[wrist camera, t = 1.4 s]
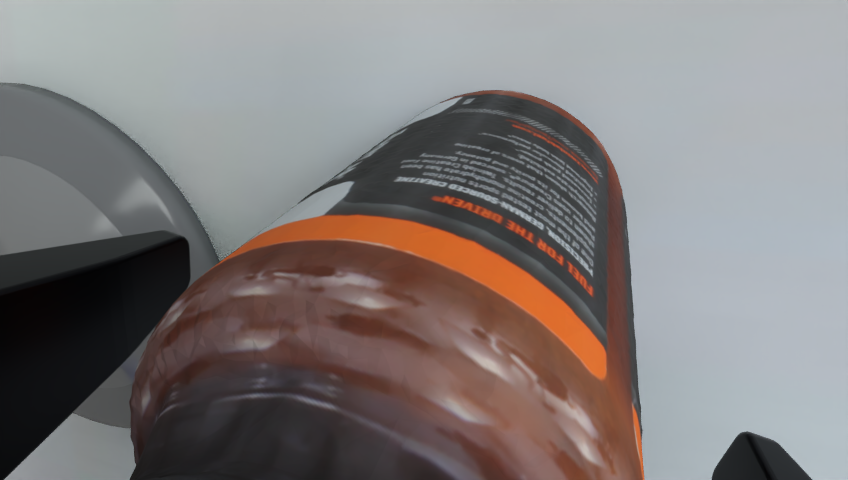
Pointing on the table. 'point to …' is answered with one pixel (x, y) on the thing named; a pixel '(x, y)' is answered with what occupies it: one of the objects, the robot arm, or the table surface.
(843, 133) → the table surface
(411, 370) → the supplement bottle
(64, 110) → the plate
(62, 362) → the robot arm
